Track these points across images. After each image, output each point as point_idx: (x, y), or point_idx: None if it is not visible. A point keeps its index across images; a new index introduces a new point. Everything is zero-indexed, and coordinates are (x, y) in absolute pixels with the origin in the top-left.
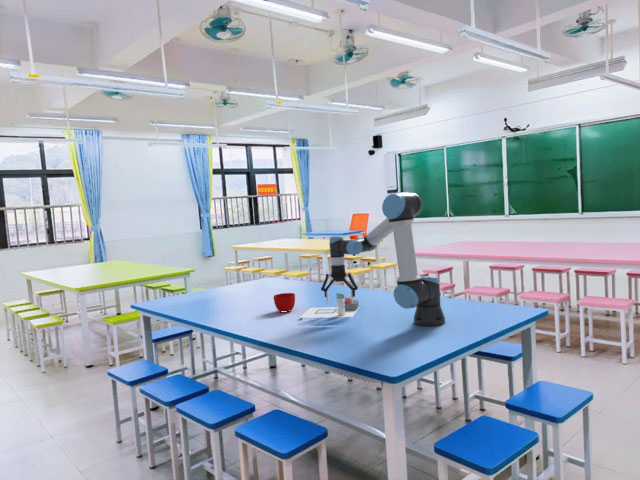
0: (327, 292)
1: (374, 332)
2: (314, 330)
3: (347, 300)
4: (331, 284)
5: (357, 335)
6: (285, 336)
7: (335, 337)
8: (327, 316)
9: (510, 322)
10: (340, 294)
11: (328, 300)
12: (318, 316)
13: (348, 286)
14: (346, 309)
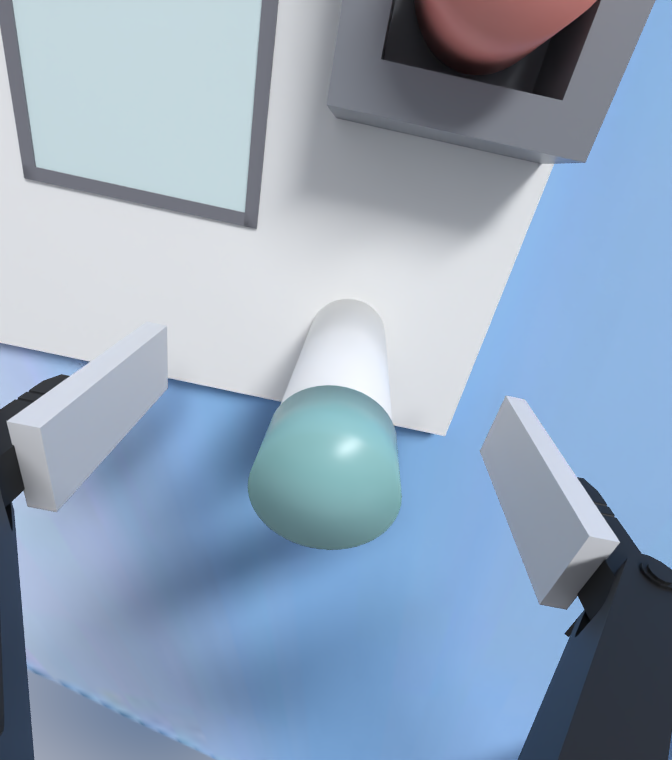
0: (63, 501)
1: (509, 681)
2: (187, 585)
3: (474, 41)
4: (10, 637)
5: (417, 691)
6: (66, 625)
7: (314, 686)
8: (211, 358)
9: None
10: (333, 542)
11: (149, 390)
12: (121, 334)
13: (541, 718)
14: (417, 133)
